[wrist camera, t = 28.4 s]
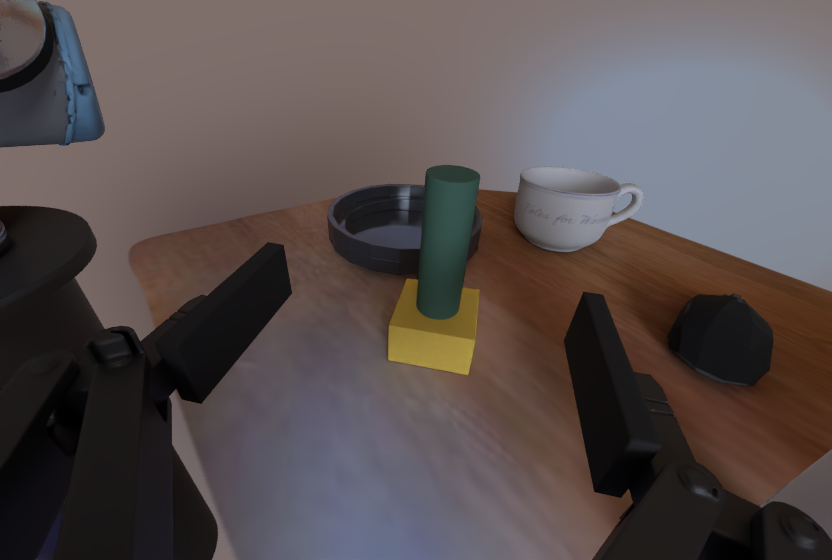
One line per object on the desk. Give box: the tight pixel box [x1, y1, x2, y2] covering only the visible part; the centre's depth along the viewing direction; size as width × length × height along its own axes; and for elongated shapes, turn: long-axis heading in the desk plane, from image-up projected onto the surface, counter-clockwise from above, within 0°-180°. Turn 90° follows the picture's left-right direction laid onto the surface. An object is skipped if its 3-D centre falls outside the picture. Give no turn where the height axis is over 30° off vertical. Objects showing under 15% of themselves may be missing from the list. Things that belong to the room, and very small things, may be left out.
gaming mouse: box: [667, 293, 774, 386], centre depth 30 cm, size 6×15×4 cm, turn 139°
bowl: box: [327, 184, 483, 275], centre depth 42 cm, size 17×17×4 cm
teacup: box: [514, 167, 644, 252], centre depth 42 cm, size 14×11×8 cm
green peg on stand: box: [388, 165, 480, 375], centre depth 25 cm, size 6×6×14 cm
